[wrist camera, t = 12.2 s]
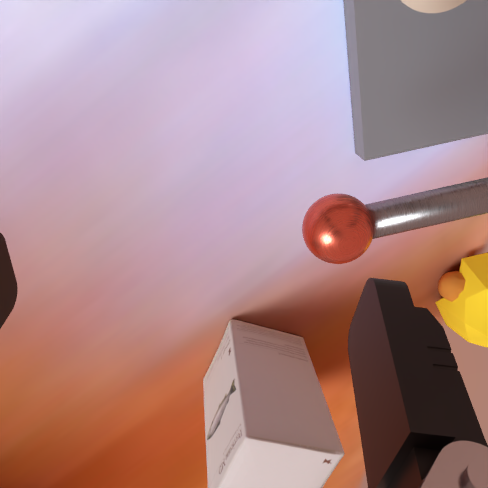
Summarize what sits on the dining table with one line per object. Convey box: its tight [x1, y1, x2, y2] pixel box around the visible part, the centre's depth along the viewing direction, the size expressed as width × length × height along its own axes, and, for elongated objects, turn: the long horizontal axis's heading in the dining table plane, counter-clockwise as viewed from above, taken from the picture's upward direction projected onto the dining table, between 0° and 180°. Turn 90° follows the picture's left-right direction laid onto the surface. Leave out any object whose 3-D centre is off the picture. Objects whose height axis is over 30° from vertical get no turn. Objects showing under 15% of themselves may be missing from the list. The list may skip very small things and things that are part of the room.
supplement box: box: [203, 319, 344, 488], centre depth 36 cm, size 7×7×13 cm
